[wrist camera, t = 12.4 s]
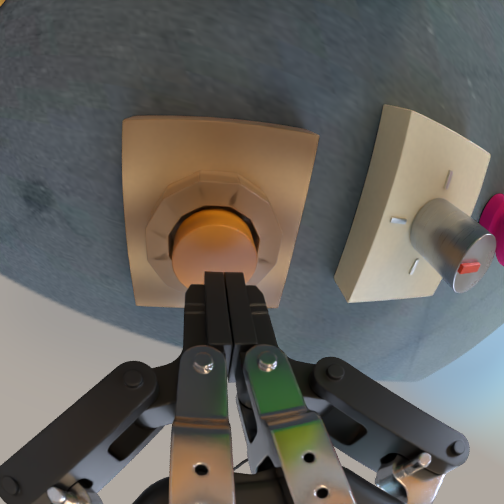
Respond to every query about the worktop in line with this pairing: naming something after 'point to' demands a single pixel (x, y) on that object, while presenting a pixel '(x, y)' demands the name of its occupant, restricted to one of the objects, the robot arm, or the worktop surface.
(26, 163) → the worktop surface
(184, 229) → the light button
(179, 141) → the switch block
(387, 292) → the dimmer panel
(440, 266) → the dimmer knob
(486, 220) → the pepper mill
